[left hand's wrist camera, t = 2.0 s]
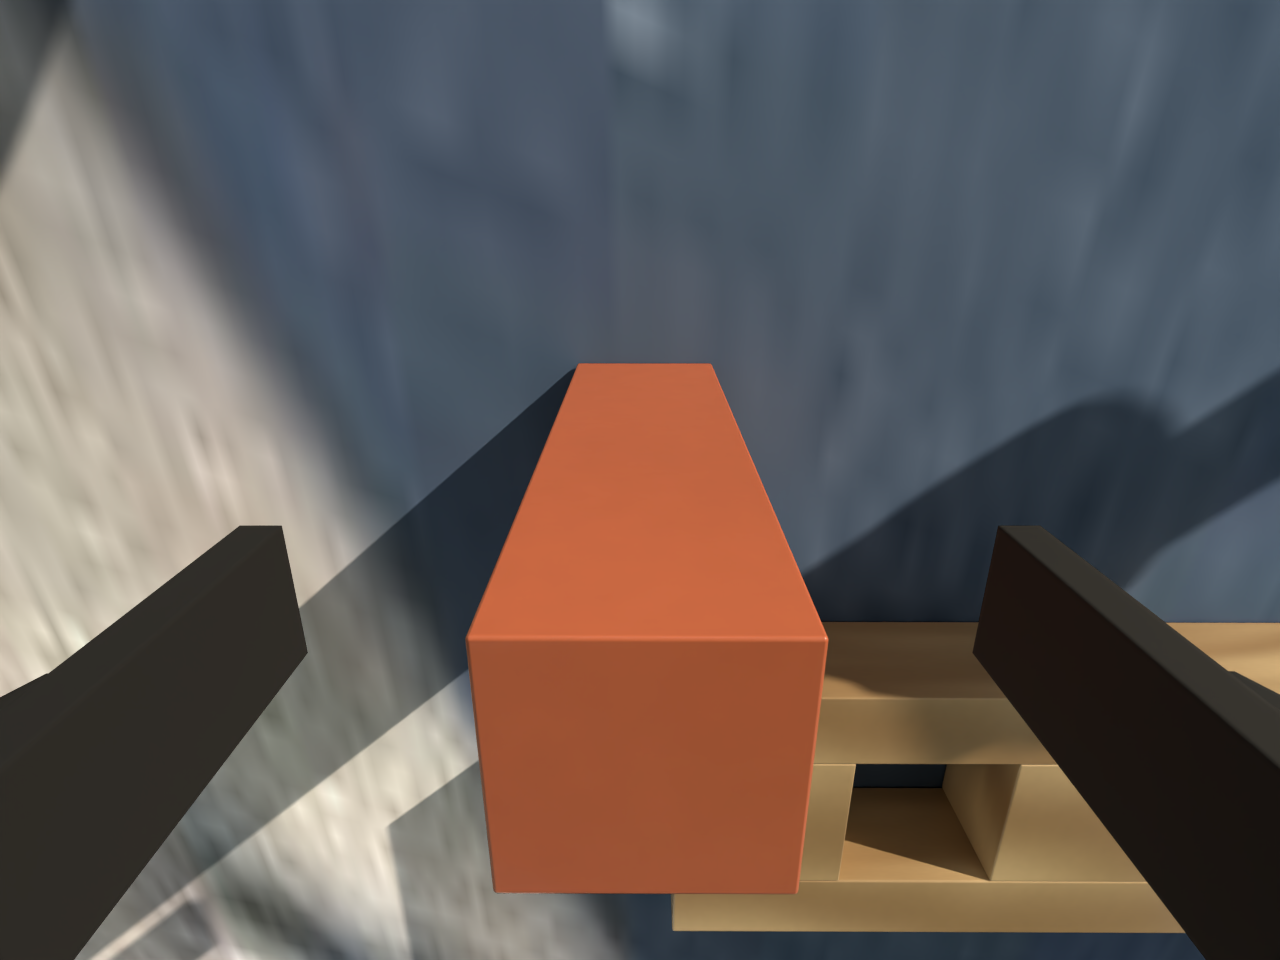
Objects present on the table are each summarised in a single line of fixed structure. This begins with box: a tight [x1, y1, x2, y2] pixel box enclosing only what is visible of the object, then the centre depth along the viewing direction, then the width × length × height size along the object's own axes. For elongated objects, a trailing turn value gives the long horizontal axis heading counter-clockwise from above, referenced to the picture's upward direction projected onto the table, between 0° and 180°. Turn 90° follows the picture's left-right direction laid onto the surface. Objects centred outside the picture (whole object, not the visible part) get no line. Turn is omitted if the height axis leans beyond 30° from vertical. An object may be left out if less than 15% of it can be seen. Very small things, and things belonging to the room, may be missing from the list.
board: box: [671, 622, 1280, 933], centre depth 20 cm, size 10×34×12 cm, turn 90°
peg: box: [465, 364, 829, 894], centre depth 15 cm, size 4×4×14 cm
